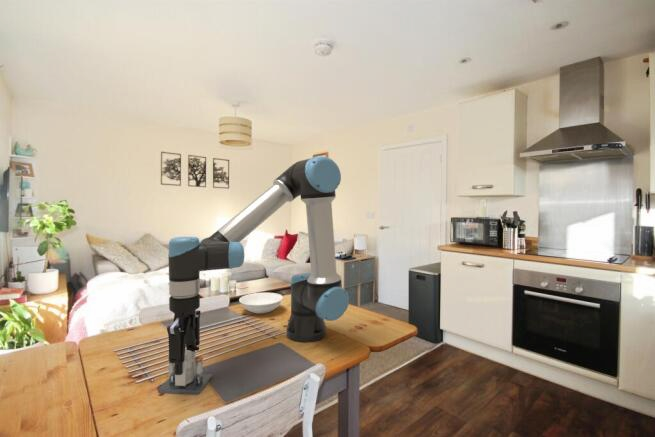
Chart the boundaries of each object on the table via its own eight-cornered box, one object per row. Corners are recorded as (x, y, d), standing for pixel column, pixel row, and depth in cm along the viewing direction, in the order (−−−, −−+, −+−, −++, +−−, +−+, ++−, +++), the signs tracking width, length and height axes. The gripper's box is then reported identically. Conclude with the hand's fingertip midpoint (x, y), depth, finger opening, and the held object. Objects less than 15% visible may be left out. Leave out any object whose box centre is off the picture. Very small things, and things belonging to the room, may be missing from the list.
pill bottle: (180, 377, 90) (179, 349, 89) (196, 376, 90) (196, 349, 90) (173, 385, 85) (173, 356, 85) (190, 385, 86) (190, 356, 85)
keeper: (212, 377, 91) (211, 351, 91) (198, 394, 83) (198, 365, 83) (174, 376, 92) (173, 350, 92) (157, 392, 84) (157, 363, 84)
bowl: (262, 322, 135) (262, 307, 134) (229, 314, 145) (229, 300, 145) (292, 309, 151) (292, 296, 151) (260, 302, 162) (260, 290, 162)
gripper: (187, 286, 96) (188, 363, 97) (151, 304, 78) (152, 398, 79) (212, 286, 95) (212, 364, 96) (181, 304, 78) (182, 399, 79)
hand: (185, 379), depth 88 cm, fingers closed on pill bottle, 4 cm apart
